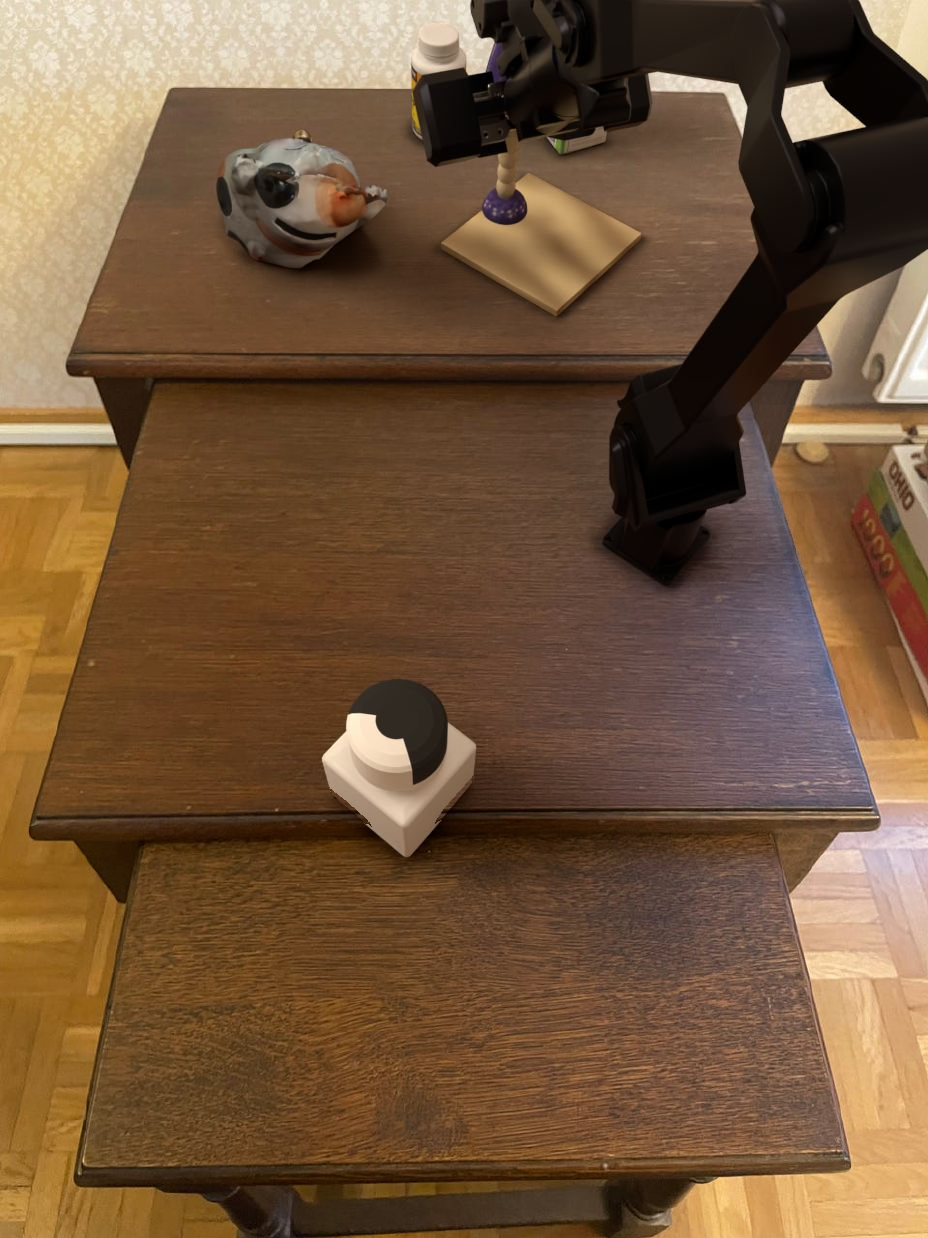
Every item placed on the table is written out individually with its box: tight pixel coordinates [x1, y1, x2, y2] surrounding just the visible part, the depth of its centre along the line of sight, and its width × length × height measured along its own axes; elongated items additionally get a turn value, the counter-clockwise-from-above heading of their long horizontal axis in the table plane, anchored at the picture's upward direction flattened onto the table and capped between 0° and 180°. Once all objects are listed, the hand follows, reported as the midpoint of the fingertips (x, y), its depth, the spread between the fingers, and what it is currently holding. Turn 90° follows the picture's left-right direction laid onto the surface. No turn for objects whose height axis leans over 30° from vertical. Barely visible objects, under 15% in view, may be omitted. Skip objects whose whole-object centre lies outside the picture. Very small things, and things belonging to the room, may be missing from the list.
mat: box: [440, 172, 642, 317], centre depth 95 cm, size 14×14×1 cm
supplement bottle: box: [410, 22, 467, 141], centre depth 99 cm, size 6×6×10 cm
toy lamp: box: [481, 41, 527, 225], centre depth 83 cm, size 5×5×17 cm
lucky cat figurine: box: [215, 128, 389, 269], centre depth 89 cm, size 15×12×14 cm
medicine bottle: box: [321, 678, 477, 858], centre depth 62 cm, size 7×7×12 cm
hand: (503, 127), depth 84 cm, fingers closed on toy lamp, 3 cm apart
